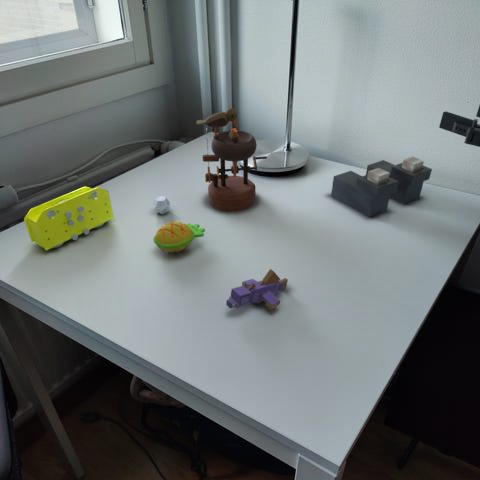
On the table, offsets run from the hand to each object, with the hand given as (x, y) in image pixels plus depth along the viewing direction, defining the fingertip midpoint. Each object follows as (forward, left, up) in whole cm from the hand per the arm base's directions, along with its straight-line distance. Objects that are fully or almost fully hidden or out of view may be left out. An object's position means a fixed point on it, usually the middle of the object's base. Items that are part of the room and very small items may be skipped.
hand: (461, 113), depth 86 cm
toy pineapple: (+27, +47, -20) cm, 58 cm away
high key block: (+13, +8, -20) cm, 25 cm away
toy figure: (+5, +48, -20) cm, 53 cm away
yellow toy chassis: (+46, +59, -20) cm, 78 cm away
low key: (+8, -1, -13) cm, 15 cm away
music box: (+34, +26, -20) cm, 47 cm away
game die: (+41, +41, -20) cm, 61 cm away
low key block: (+12, -2, -20) cm, 23 cm away
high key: (+9, +9, -14) cm, 19 cm away
